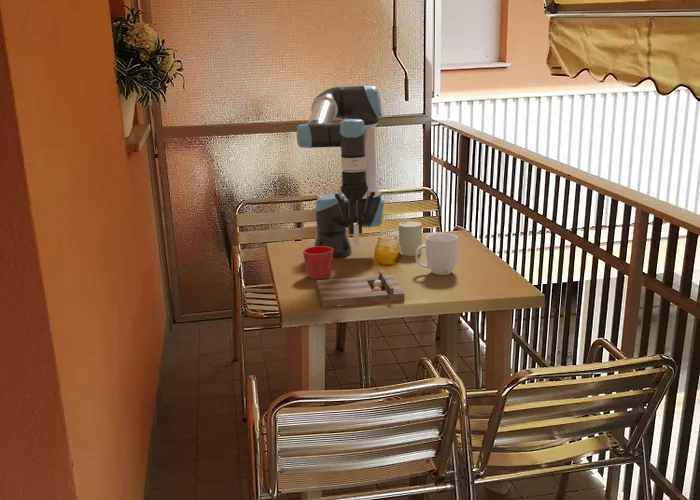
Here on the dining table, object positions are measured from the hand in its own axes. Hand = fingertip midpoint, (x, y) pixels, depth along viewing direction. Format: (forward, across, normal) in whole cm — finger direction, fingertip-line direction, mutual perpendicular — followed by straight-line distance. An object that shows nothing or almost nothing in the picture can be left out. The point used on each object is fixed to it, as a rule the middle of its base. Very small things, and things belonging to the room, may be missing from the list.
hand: (356, 243), depth 230 cm
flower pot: (+19, -10, +26) cm, 34 cm away
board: (+18, +1, +3) cm, 18 cm away
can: (+19, +28, +47) cm, 58 cm away
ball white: (+17, +8, +7) cm, 20 cm away
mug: (+19, +32, +19) cm, 42 cm away
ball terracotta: (+17, +6, 0) cm, 18 cm away
